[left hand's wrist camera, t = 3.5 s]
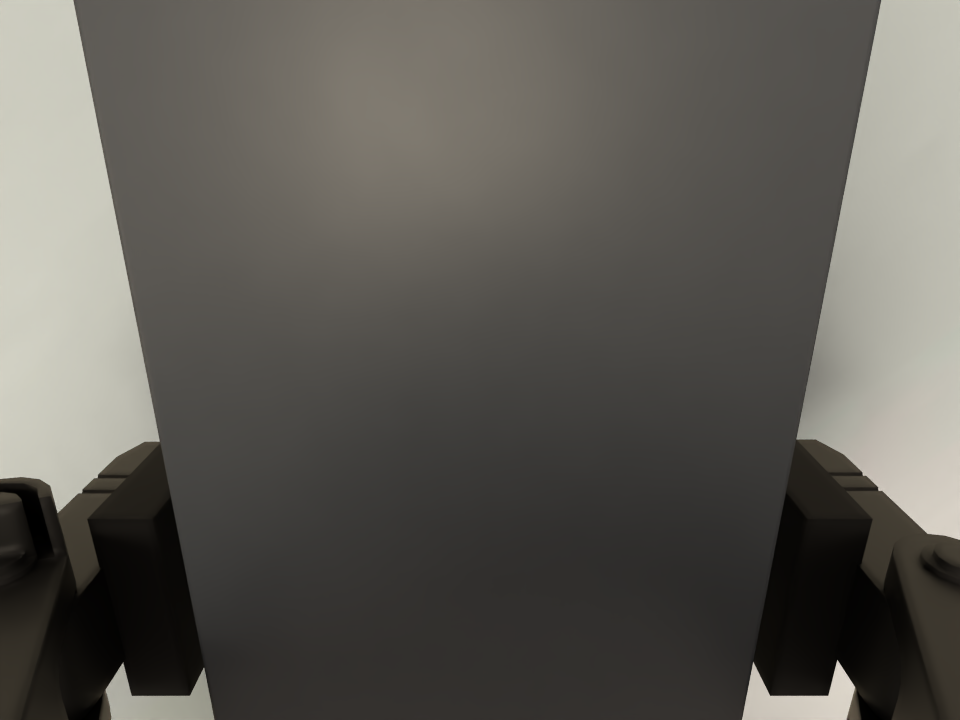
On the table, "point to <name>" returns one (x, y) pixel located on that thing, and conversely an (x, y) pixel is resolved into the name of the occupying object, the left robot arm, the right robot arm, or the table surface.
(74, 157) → the table surface
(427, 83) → the bar
